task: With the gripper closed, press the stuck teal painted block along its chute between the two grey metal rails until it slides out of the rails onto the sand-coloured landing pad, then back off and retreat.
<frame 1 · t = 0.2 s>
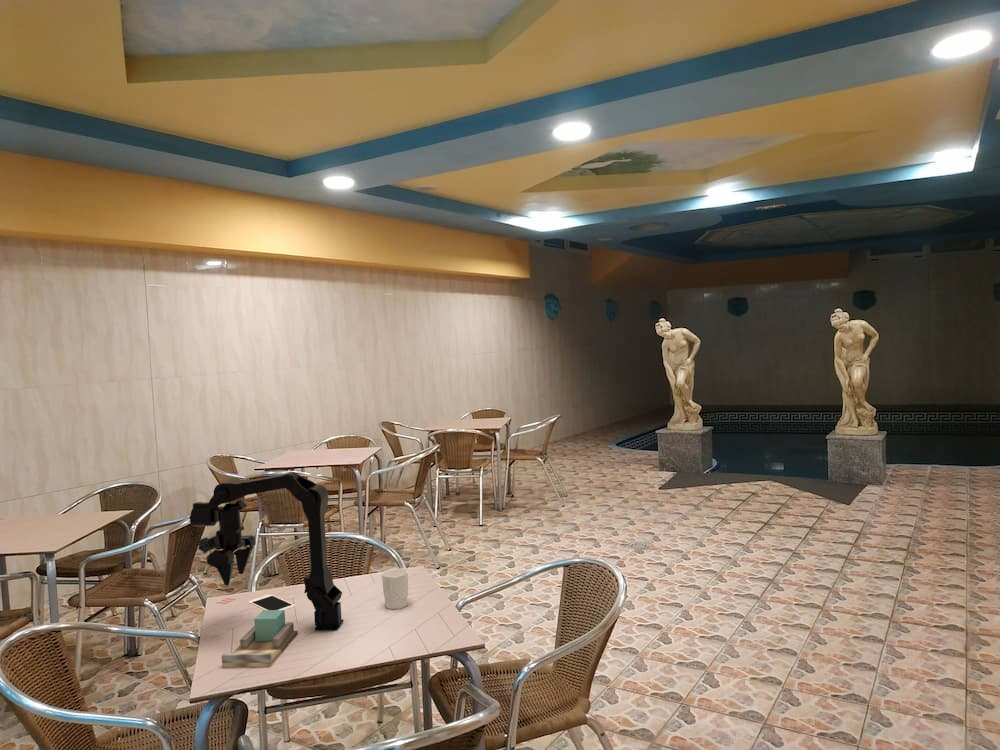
hand: (234, 579, 198), 14 cm above the table, fingers open, 9 cm apart
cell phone: (271, 605, 217), on the table
chute: (262, 649, 183), on the table
block: (270, 625, 189), point 4 cm above the table, slide at 0.0 cm
white cup: (396, 605, 211), on the table
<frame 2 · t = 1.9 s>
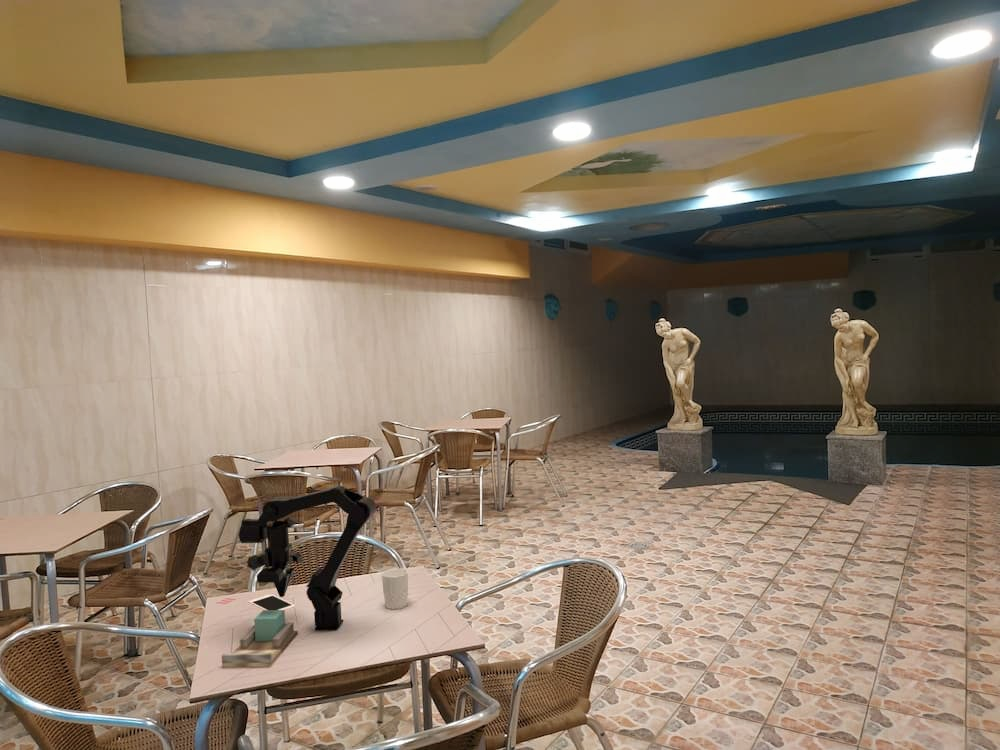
hand: (282, 596, 198), 9 cm above the table, fingers closed
nothing on the table moved.
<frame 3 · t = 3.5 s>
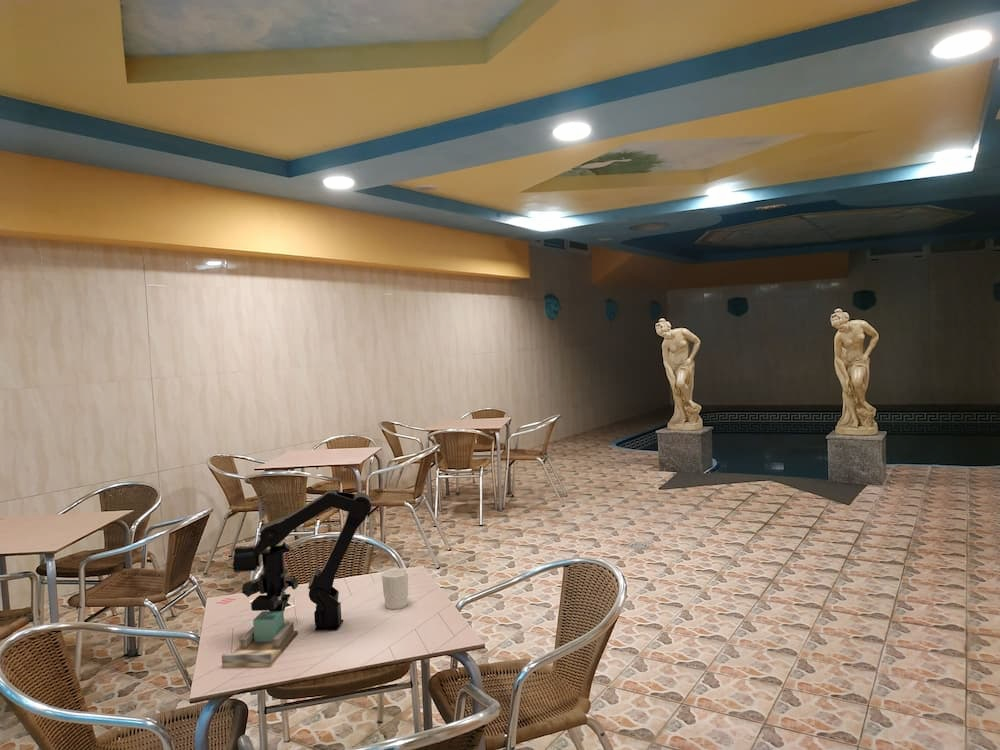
hand: (277, 623, 194), 3 cm above the table, fingers closed
block: (269, 626, 189), point 4 cm above the table, slide at 0.7 cm, touching gripper
everything else where it was.
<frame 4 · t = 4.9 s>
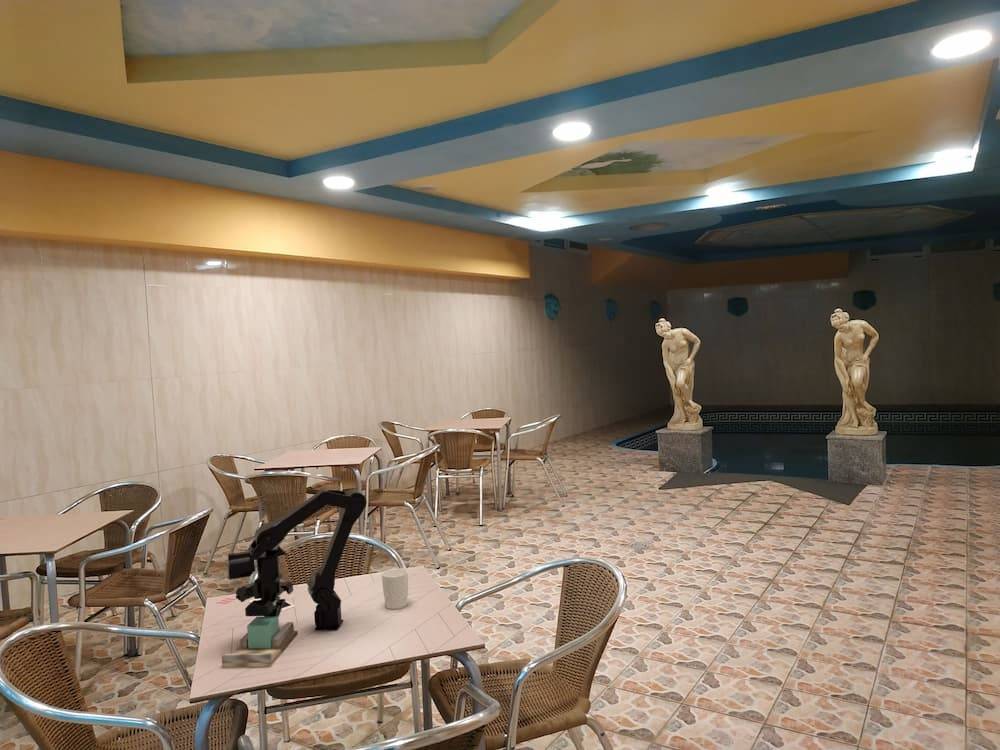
hand: (272, 629, 190), 3 cm above the table, fingers closed
block: (263, 632, 185), point 4 cm above the table, slide at 4.5 cm, touching gripper
everything else where it was.
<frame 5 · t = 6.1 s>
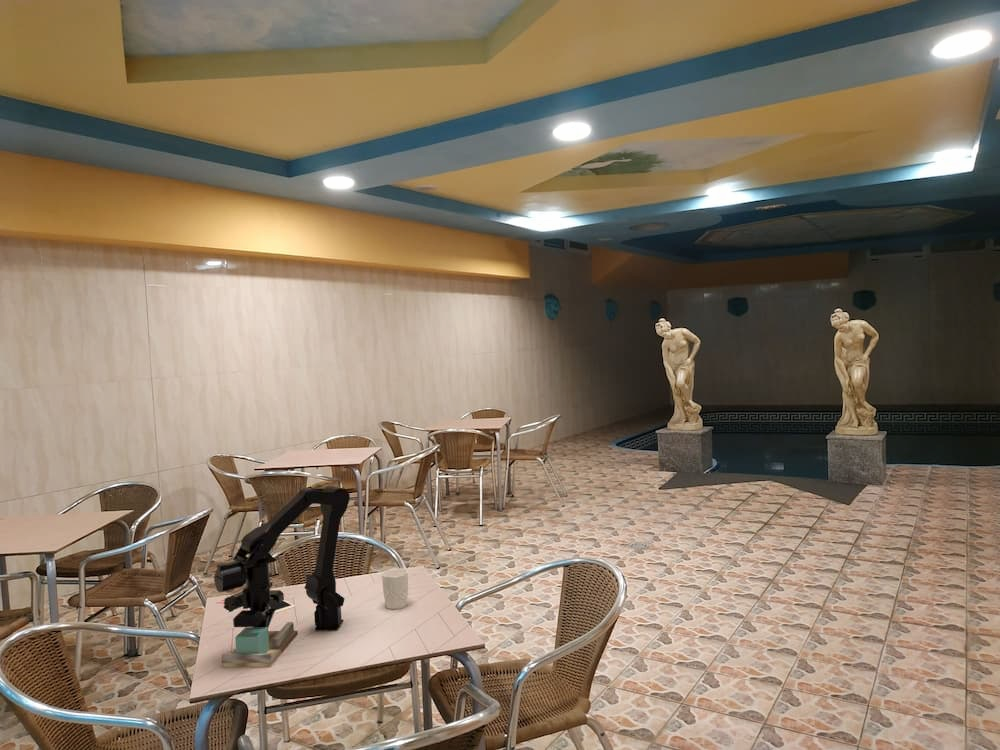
hand: (261, 639, 183), 3 cm above the table, fingers closed
block: (252, 643, 178), point 4 cm above the table, slide at 11.4 cm, touching gripper
everything else where it was.
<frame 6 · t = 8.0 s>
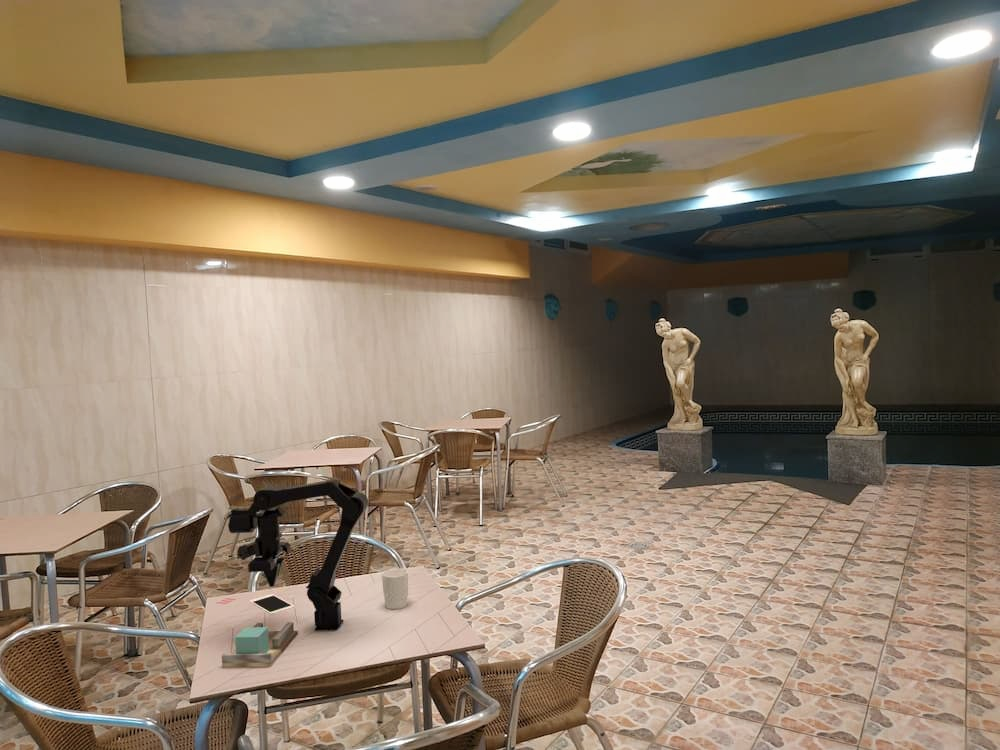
hand: (272, 586, 197), 12 cm above the table, fingers closed
block: (252, 643, 178), point 4 cm above the table, slide at 11.5 cm
everything else where it was.
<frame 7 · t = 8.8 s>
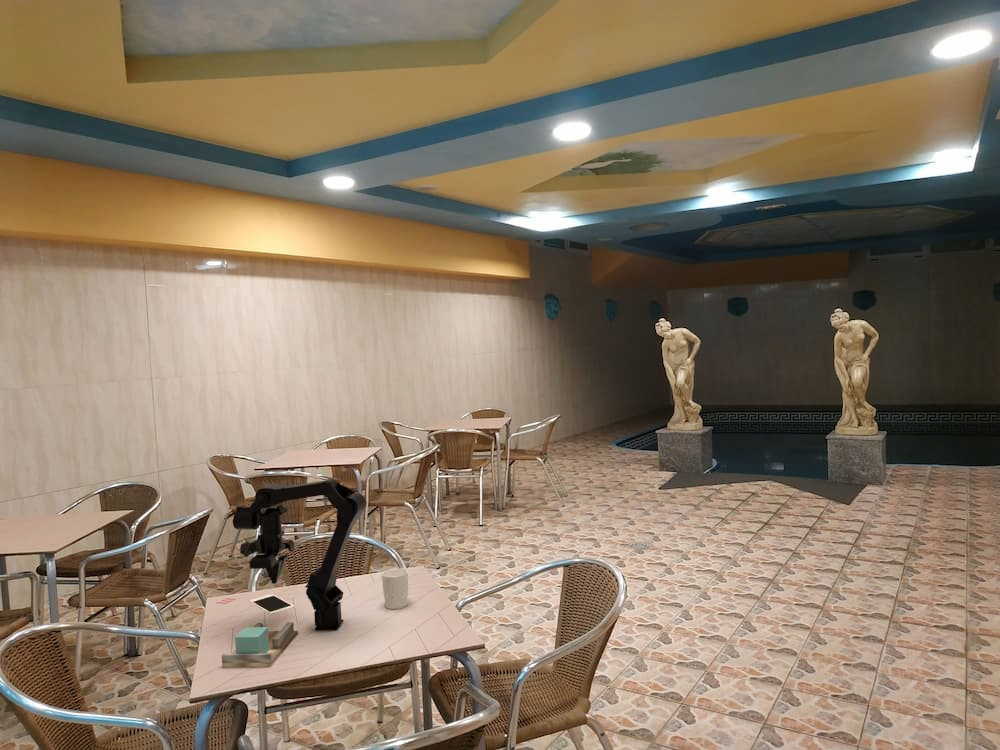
hand: (274, 583, 199), 12 cm above the table, fingers closed
nothing on the table moved.
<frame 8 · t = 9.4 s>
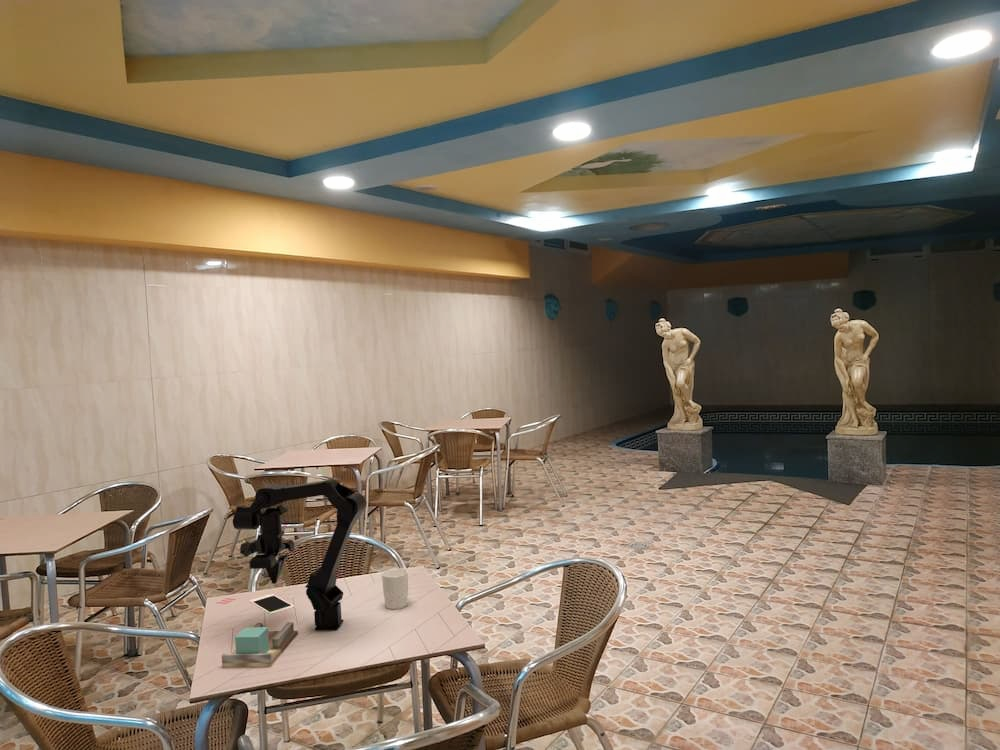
hand: (274, 583, 199), 12 cm above the table, fingers closed
nothing on the table moved.
at the end: block slide at 11.5 cm; block inside the target area (0.5 cm from its centre), resting on chute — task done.
